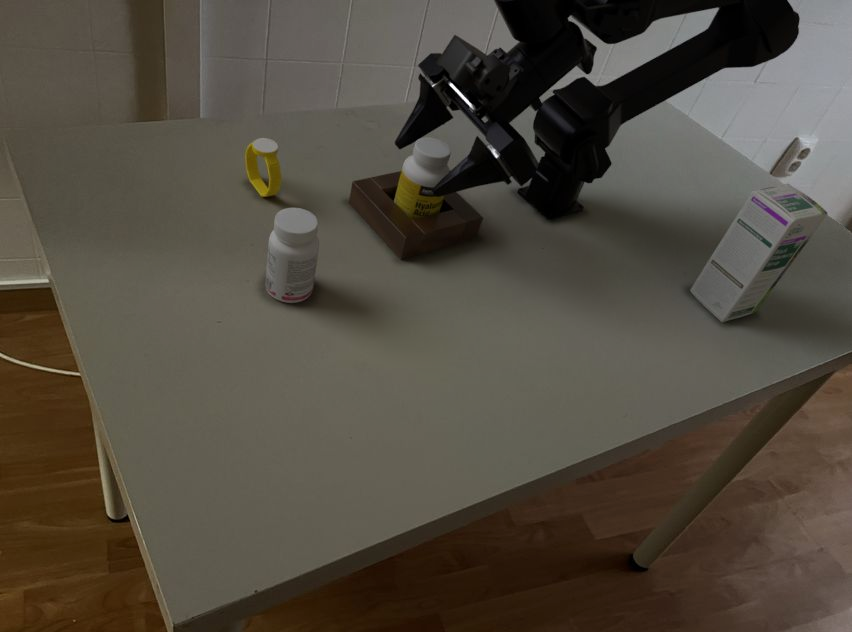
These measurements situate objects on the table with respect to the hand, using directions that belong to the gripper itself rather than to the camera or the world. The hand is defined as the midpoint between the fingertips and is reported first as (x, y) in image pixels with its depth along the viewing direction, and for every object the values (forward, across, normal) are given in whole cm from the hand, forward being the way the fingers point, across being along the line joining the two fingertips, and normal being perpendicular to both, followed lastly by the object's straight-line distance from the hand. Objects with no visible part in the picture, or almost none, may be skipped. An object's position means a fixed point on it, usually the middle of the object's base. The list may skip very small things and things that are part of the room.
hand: (414, 169), depth 78 cm
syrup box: (-18, +22, +28) cm, 39 cm away
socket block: (+4, 0, +6) cm, 7 cm away
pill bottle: (+17, +8, -7) cm, 20 cm away
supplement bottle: (+4, 0, +6) cm, 8 cm away
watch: (+15, -9, -5) cm, 18 cm away
